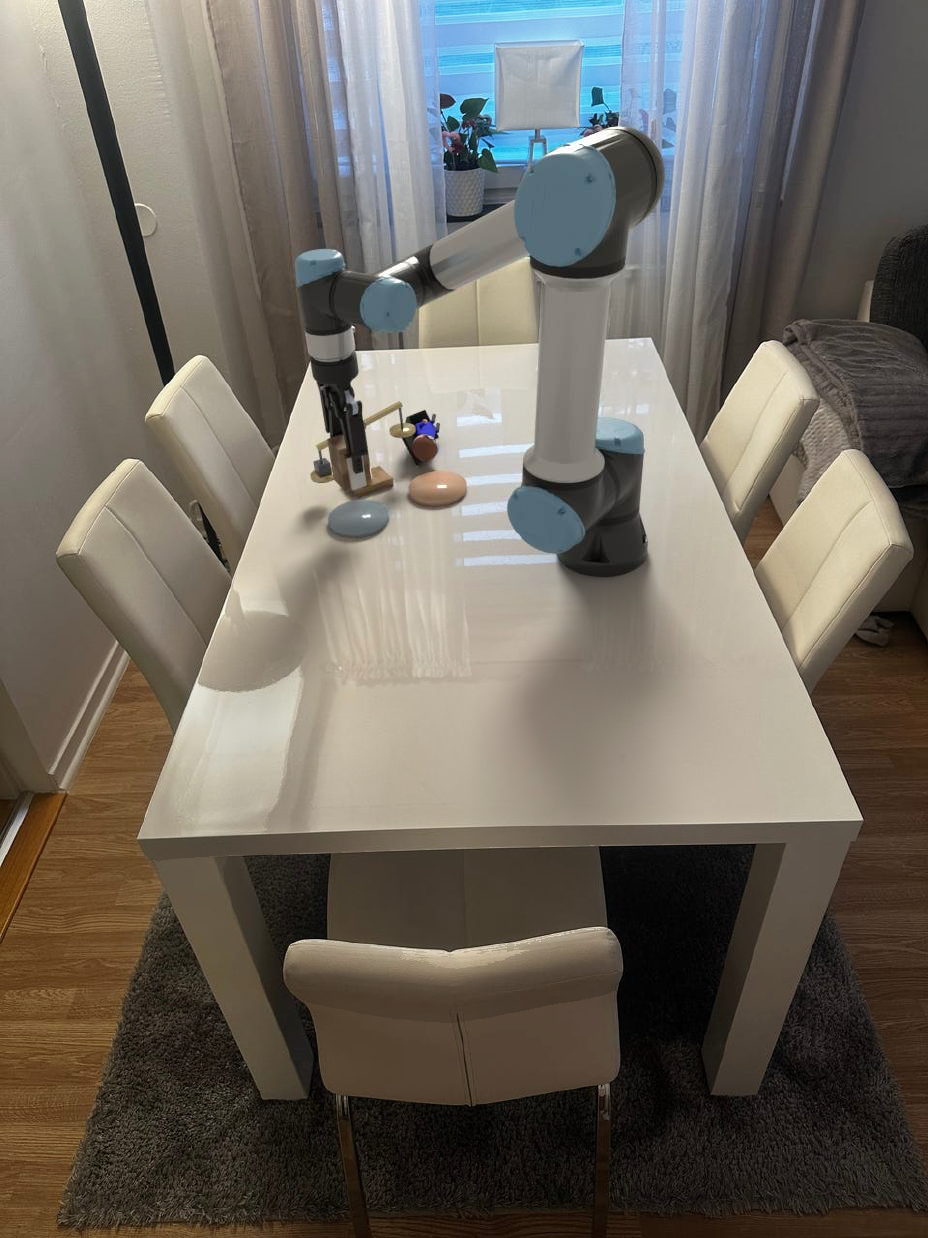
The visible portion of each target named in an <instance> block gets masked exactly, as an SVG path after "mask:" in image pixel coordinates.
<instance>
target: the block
mask: <svg viewBox="0 0 928 1238" xmlns="http://www.w3.org/2000/svg"><path fill="white" fill-rule="evenodd" d="M326 440H327V442H328V447H327V448H328V454H329V459H330V465H331V468H332V472H333V478H334V480H333V481H335V483H337V485H338V486H339V487H340V488H341V489H342V490H343V491H344V492H347V491H349V490H351V485H350V479H349V473H348V466H347V460H346V459H345V457H344V455H345V454H348V452H347V448H346V444H345V440H344V436H343V434H342V435H339V436H335V437H332V438H330V437H329V438H327V439H326ZM363 463H364V470H365V477H366V484H370V483H371V479H370V471H369V464H368V457H367V455H363Z"/></svg>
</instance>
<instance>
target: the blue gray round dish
mask: <svg viewBox="0 0 928 1238" xmlns="http://www.w3.org/2000/svg"><path fill="white" fill-rule="evenodd" d="M327 521H328V526H329V529H330V530H331V532H333V533H334V534H335V535H338V536H340V537H343V538H344V537H345V538H350V539H351V538H364V537H367V536H371V535H374V534H376V533H379V532H380V531H382V530H383V529H384V528H385V527H386V526H387V525H388V524H389V521H390V512H389V509H388V507H387V506H386V505H385V504H384V503H382V502H379V501H377V500H374V499H373V500H372V499H356V500H351V501H346V502H344V503H341V504H339V505H338V506H336V507H335V508H333V509H332V510H331V511H330V512H329V515H328V517H327Z"/></svg>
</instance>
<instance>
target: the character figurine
mask: <svg viewBox="0 0 928 1238" xmlns="http://www.w3.org/2000/svg"><path fill="white" fill-rule="evenodd" d="M436 419H437V414H436V413H433V414H431V419H430V416H429V414H428V412H427V410H426V409H424V410H423V409H422V410H421V411H418V412H416V413H414V414H411V415H410V414H409V416H408V415H407V416H406V417H405V422H404V423H409V424H412V425H414V426H415V429H416V432H415V433H414V434H413V435H412V436H409V437H405V438H401V439H402V442H403V443H404V445H405V447H406V450H407V451H408V453H409V455H410V457H411V459H412V461H413V462H414V465H415V466H416V467H419V466H420V463H421V461H422V462H428V461H432V460H433V459H434V458H435V457H436V456H437V454H438V452H439V445H438V442H437V439H440V436H439V435H438V433H440V428H441V423H440V422H436Z"/></svg>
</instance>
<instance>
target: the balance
mask: <svg viewBox="0 0 928 1238" xmlns="http://www.w3.org/2000/svg"><path fill="white" fill-rule="evenodd" d="M402 408H403V403H402V402H401V401H397V402H395V403H393V404H391V405H389V406H388V407H387V406H386V408H384V409H382V410H380V411H378V412H376V413H374V414H373V415H372V414H371V415H370V416H369V417H368V416H367V418H365V419H363V423H364V430H365V437H366V444H367V451H368V454H367V457H368V464H369V471H370V479H371V483H370V484H367V486H364V487H361V488H358V489H355V490H352V489H351V490H348V491H349V492H350V493H351V494H352V495H353V496H354V497H355V498H360V497H362V496H365V495H367V494H371V493H374V492H378V491H380V490H383V489H385V488H389V487H393V486H394V478H393V477H392V476H391V475H390V474H389V473H388V472H387V471H385V469H383V467H381V466H380V465H378V466H376V467H371V461H370V454H369V452H370V451H369V448H368V447H369V446H368V440H367V432H366V429H367V426H369V425H371V424H373V423H375V422H376V421H379V420H381V419H382V418H384V417H386V416H388V415H390V414H392V413H393V412H395V411H397V410H398V412H399V413H398V414H399V421H400V422H399V423H397V424H394V425H392V426H391V427H389V431H388V432H389V434H390V436H391V437H393V438H397V439H402V438H405V437H409V436H412V435H413V434H414V433H415V432H416V429H415V426H414V425H412V424H409V423H405V422H404V419H403V412H402ZM315 447H316V449H317V453H318V457H319V459H317V460H314V461H313V468H314V470H312V471H311V473H310V475H309V476H310V480H311V481H312V482H314V483H316V484H328V483H330V482H333V481H335V480H334V478H333V472H332V466H331V461H329V460H328V459H327V458H326V457H323V456H322V455H323V454H322V450H324V449H326V448H328V442H327V439H326V440H323V441H321V442H320V443H318V444H316V445H315Z"/></svg>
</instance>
